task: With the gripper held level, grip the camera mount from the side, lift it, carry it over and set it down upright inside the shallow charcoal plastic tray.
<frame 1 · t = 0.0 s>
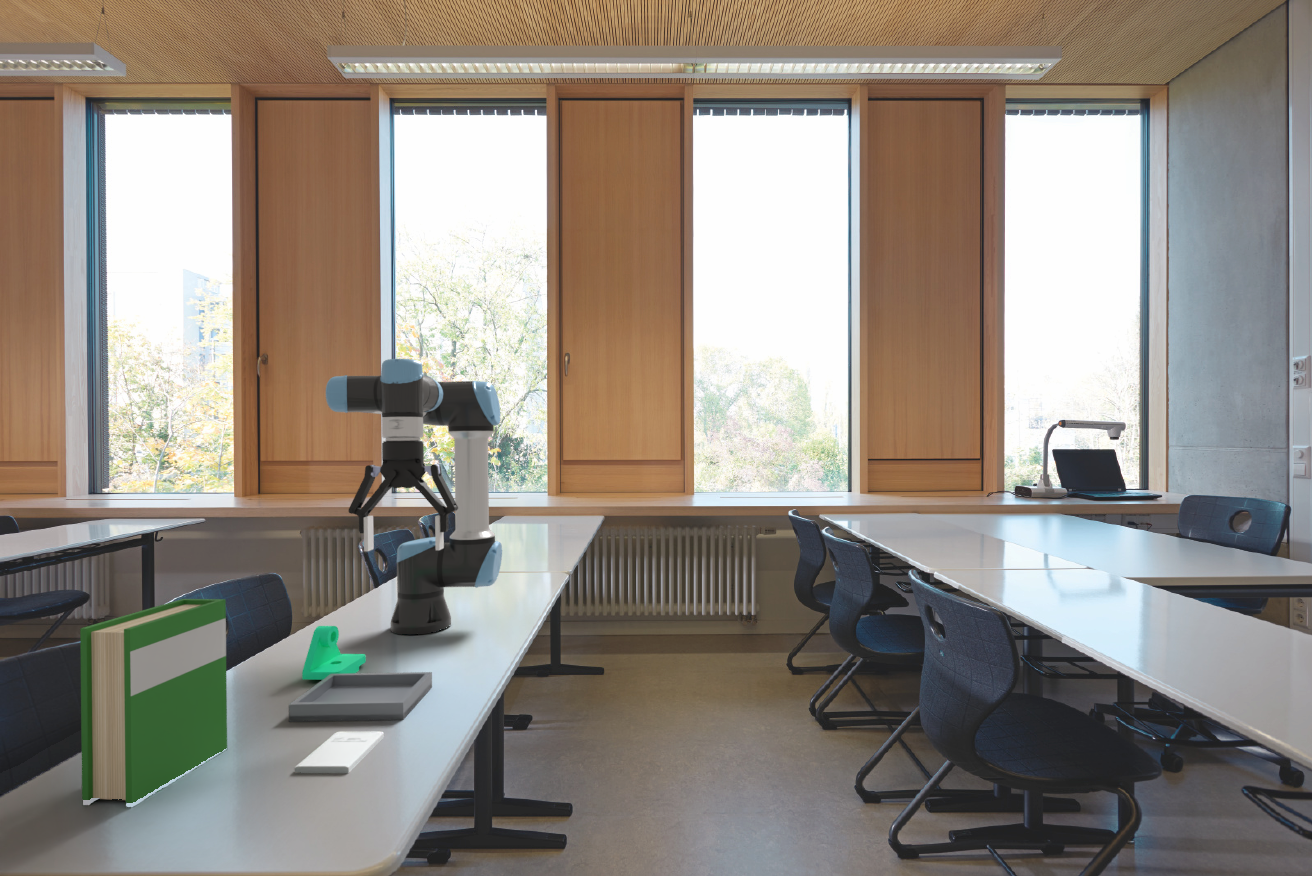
hand: (404, 550, 133), 28 cm above the table, tool pointing down, fingers open, 13 cm apart
camera mount: (336, 676, 146), on the table
tray: (365, 703, 129), on the table
external hard drive: (341, 759, 108), on the table
hardback book: (160, 776, 102), on the table
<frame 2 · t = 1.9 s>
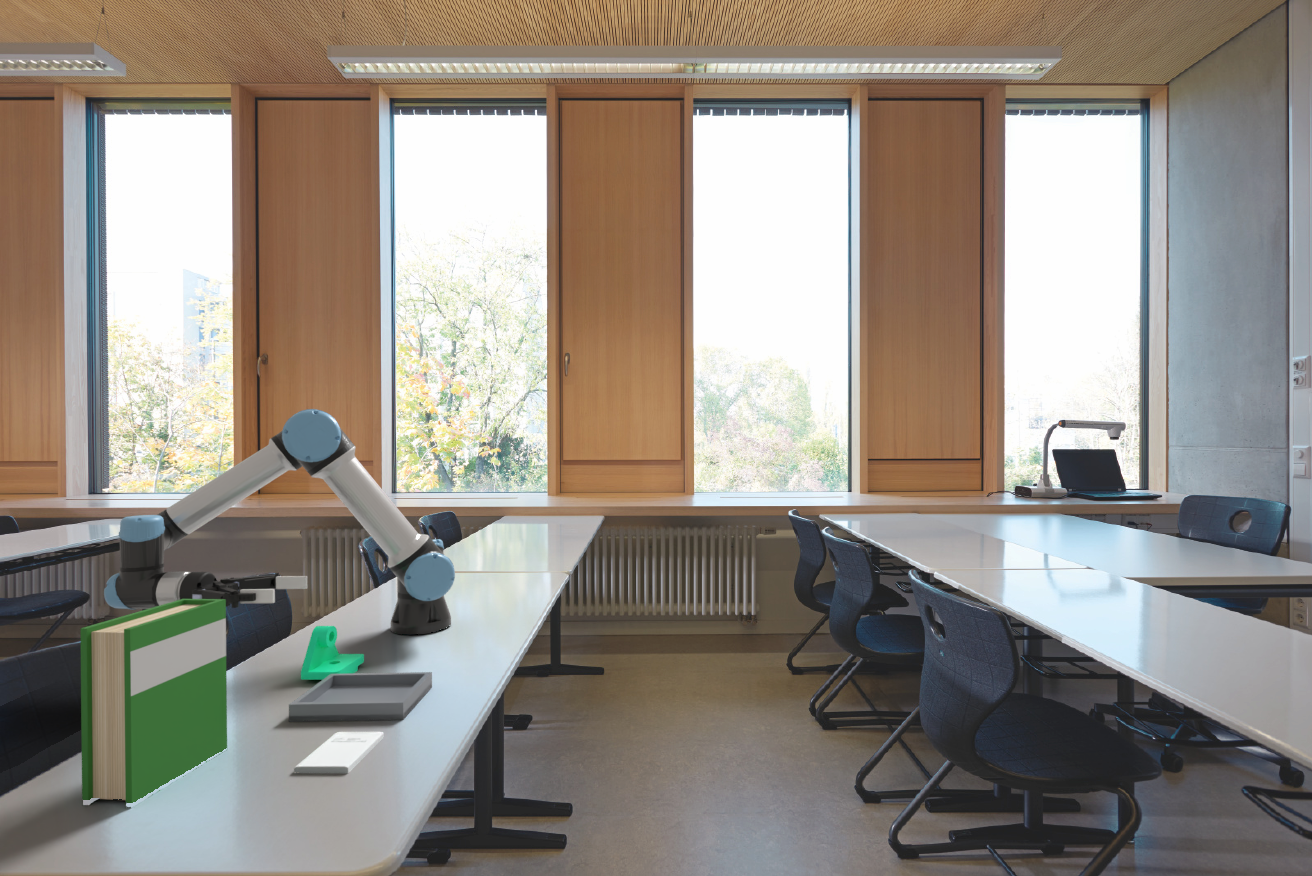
hand: (291, 588, 146), 18 cm above the table, tool horizontal, fingers open, 13 cm apart
nothing on the table moved.
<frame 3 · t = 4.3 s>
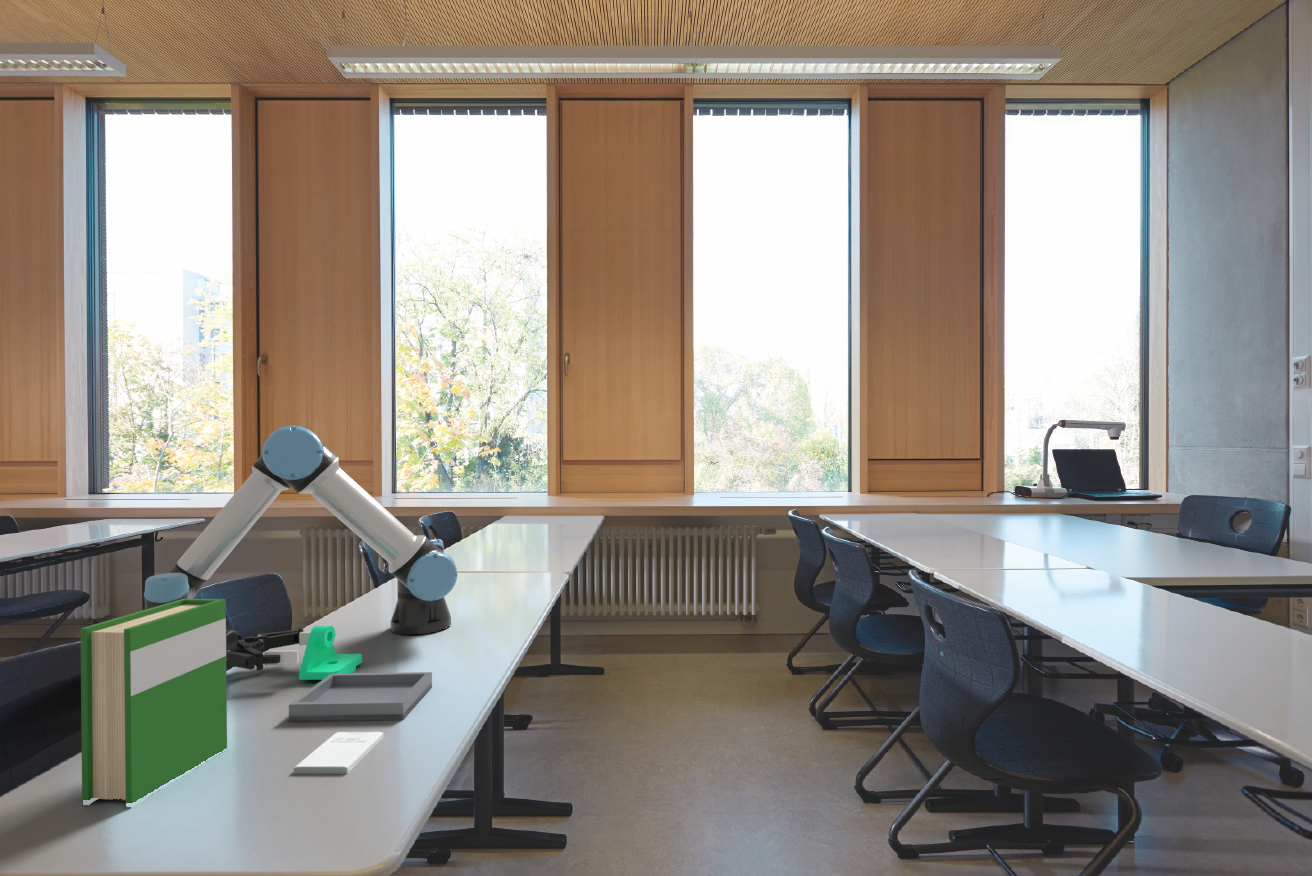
hand: (314, 647, 146), 6 cm above the table, tool horizontal, fingers open, 13 cm apart
nothing on the table moved.
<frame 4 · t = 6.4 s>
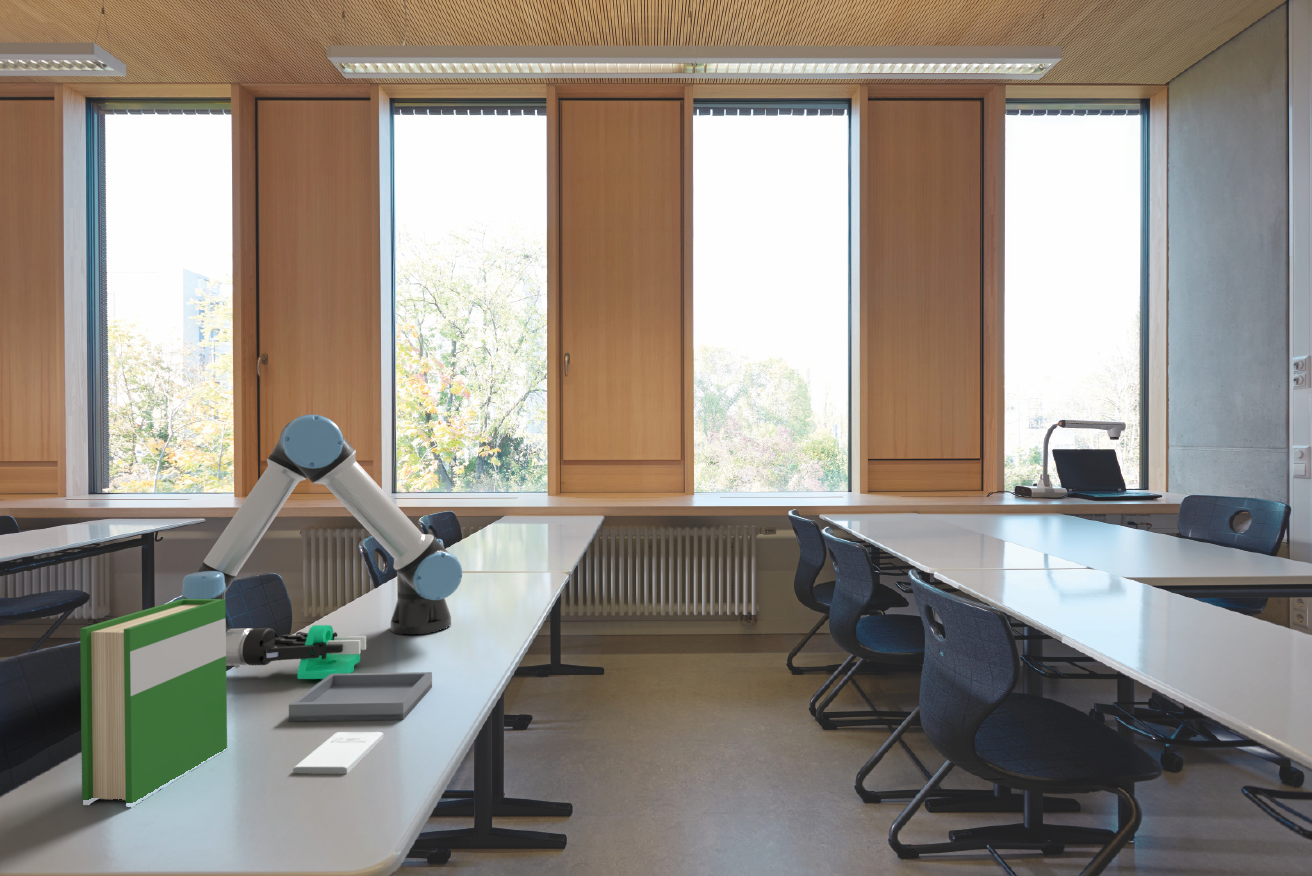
hand: (362, 644, 146), 6 cm above the table, tool horizontal, fingers closed on camera mount, 2 cm apart
camera mount: (331, 675, 146), on the table, touching gripper
everything else where it was.
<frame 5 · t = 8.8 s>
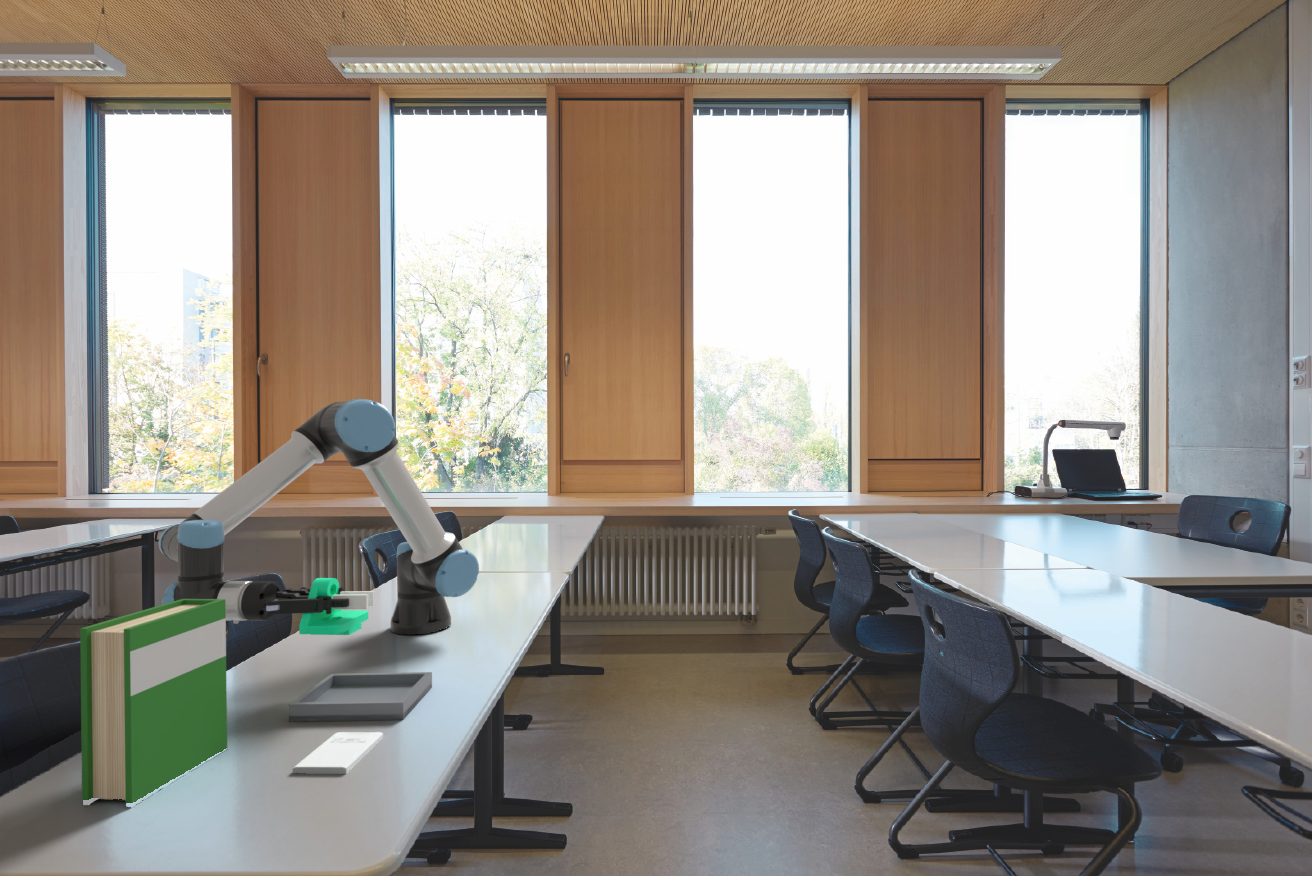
hand: (370, 600, 134), 18 cm above the table, tool horizontal, fingers closed on camera mount, 2 cm apart
camera mount: (336, 632, 134), point 12 cm above the table, touching gripper
everything else where it was.
when the fingers open (8 cm above the table, at t = 11.3 s): camera mount drops 1 cm, resting on tray.
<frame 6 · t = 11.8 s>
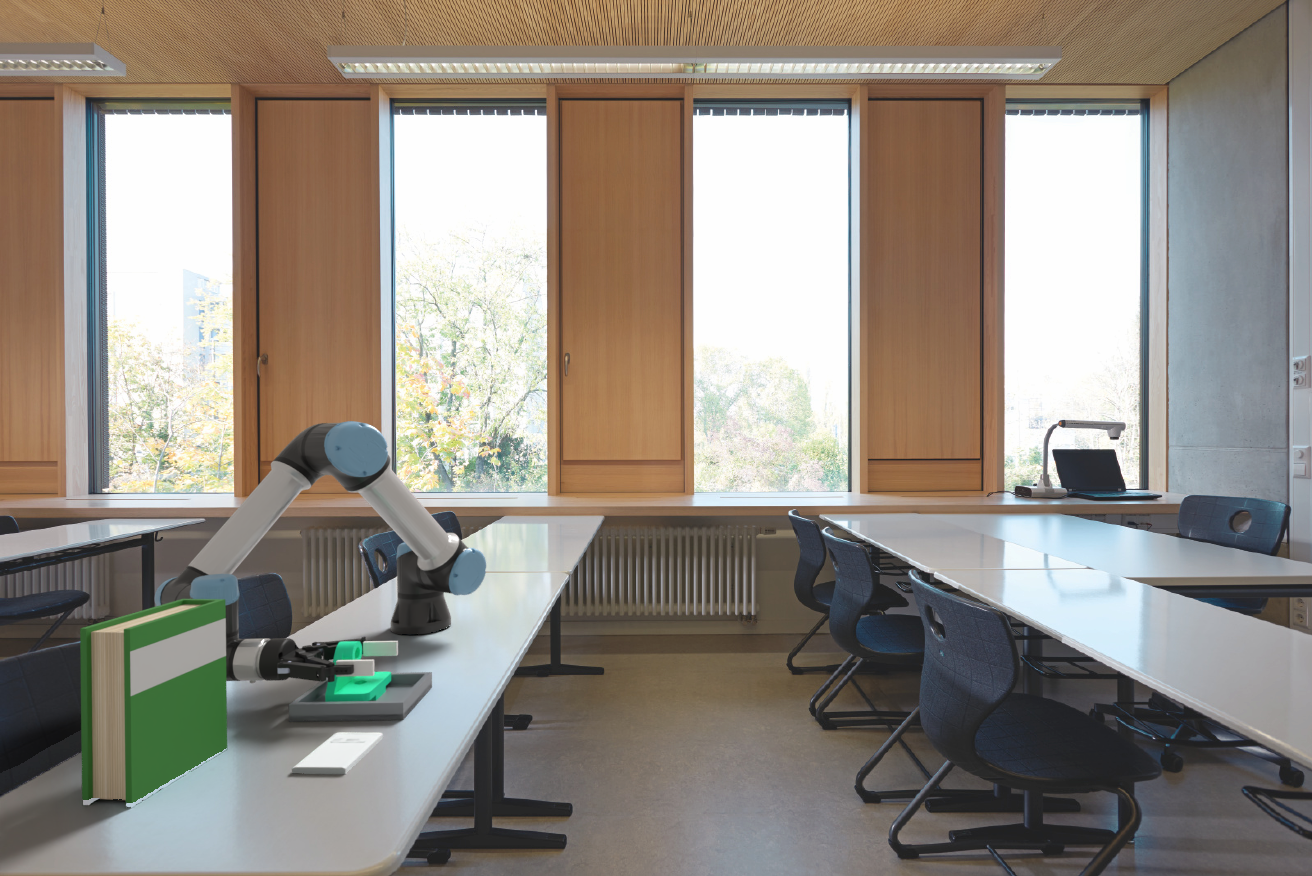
hand: (386, 657, 129), 8 cm above the table, tool horizontal, fingers open, 11 cm apart
camera mount: (360, 697, 130), point 1 cm above the table, touching tray
everything else where it was.
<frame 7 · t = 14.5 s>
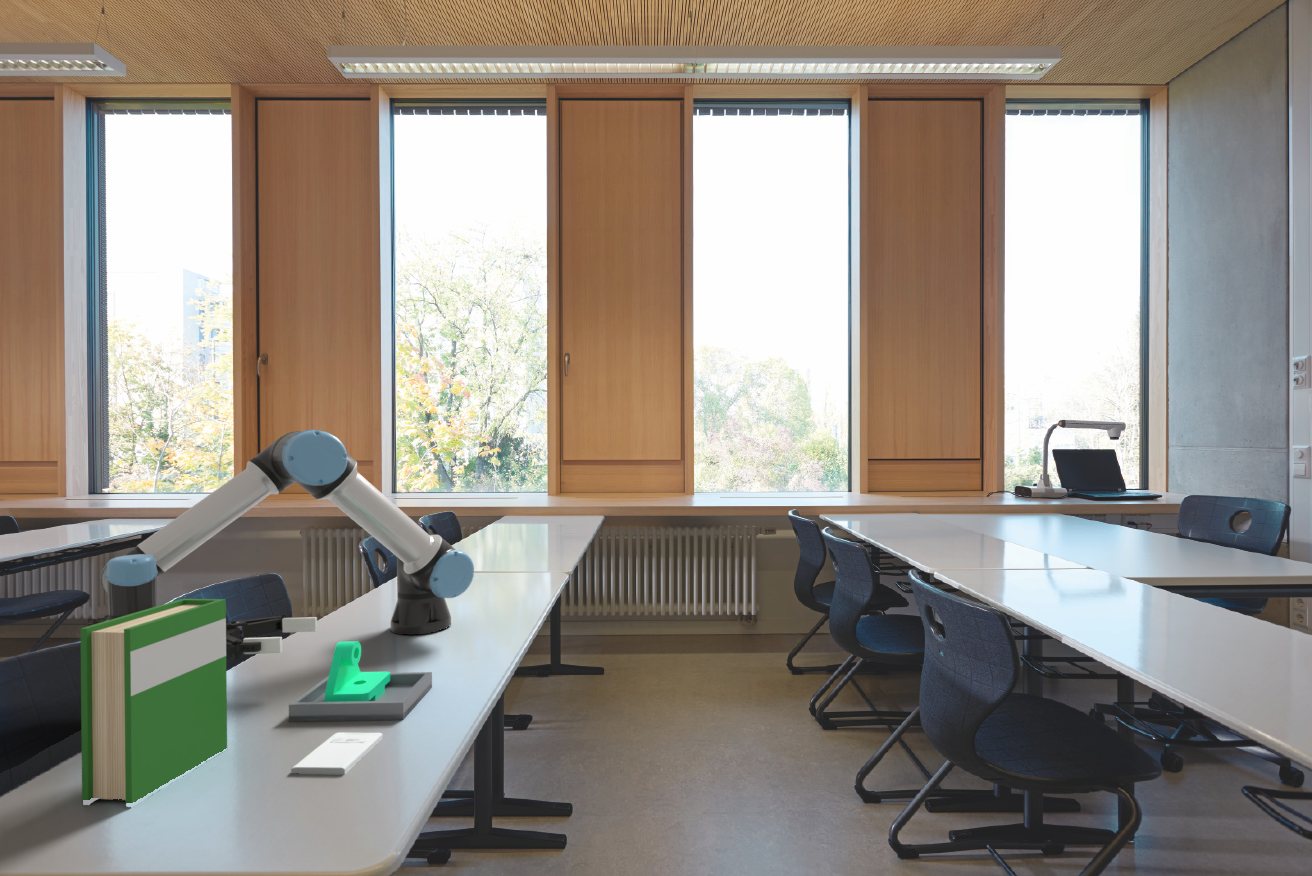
hand: (299, 634, 131), 13 cm above the table, tool horizontal, fingers open, 13 cm apart
nothing on the table moved.
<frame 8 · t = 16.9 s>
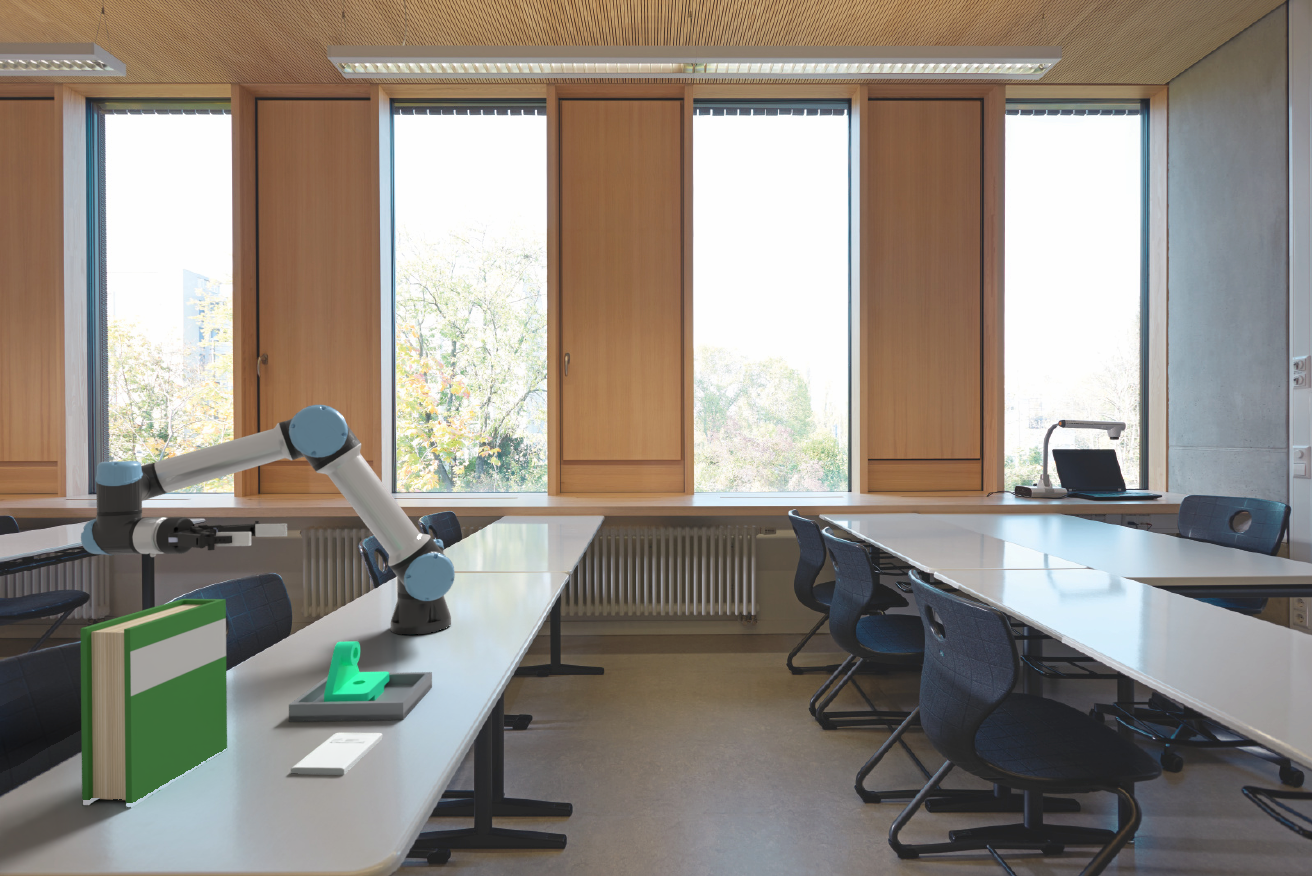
hand: (269, 534, 144), 30 cm above the table, tool horizontal, fingers open, 13 cm apart
nothing on the table moved.
at the end: camera mount inside the target area on the tray (1.7 cm from its centre), point 0.8 cm above the tray's base; camera mount tilted 0°; the gripper is holding nothing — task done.
